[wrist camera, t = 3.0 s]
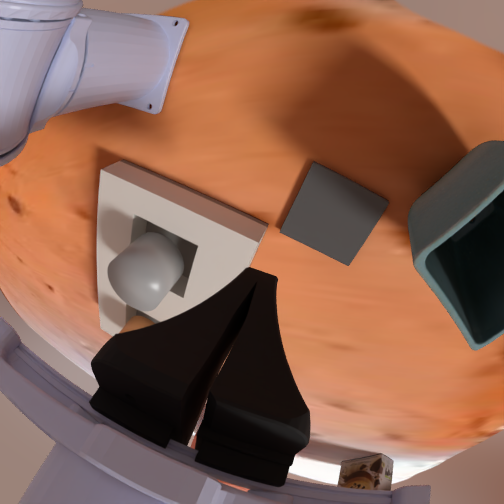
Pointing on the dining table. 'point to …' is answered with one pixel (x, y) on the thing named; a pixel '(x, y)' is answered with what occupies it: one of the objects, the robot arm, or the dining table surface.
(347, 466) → the coffee box
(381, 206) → the mat
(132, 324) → the tan button
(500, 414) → the dining table surface
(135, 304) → the grey button
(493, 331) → the flower pot
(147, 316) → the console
